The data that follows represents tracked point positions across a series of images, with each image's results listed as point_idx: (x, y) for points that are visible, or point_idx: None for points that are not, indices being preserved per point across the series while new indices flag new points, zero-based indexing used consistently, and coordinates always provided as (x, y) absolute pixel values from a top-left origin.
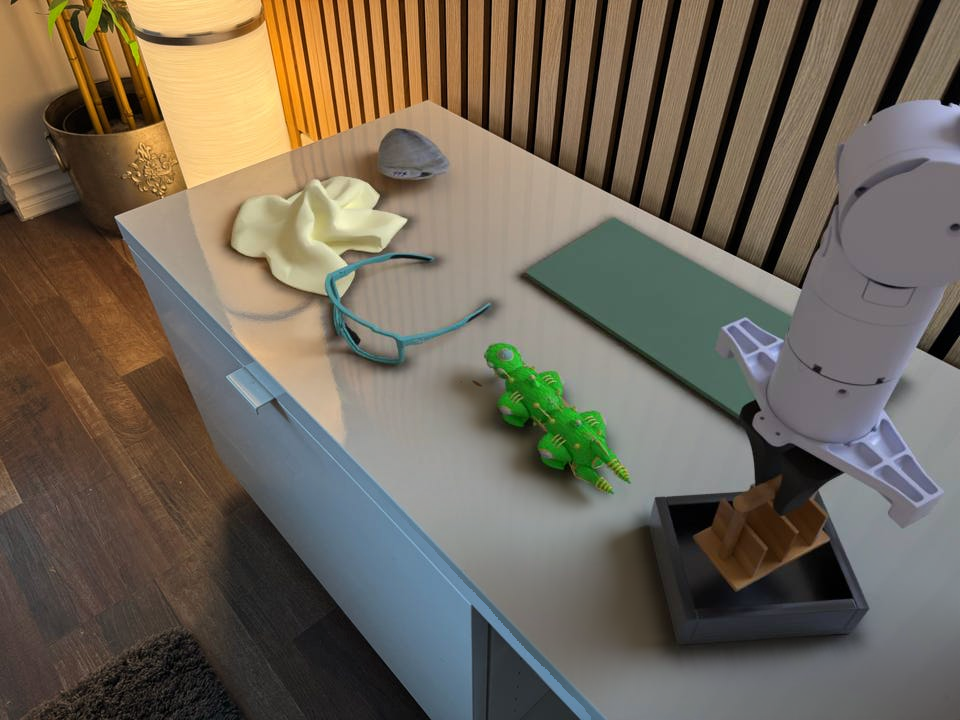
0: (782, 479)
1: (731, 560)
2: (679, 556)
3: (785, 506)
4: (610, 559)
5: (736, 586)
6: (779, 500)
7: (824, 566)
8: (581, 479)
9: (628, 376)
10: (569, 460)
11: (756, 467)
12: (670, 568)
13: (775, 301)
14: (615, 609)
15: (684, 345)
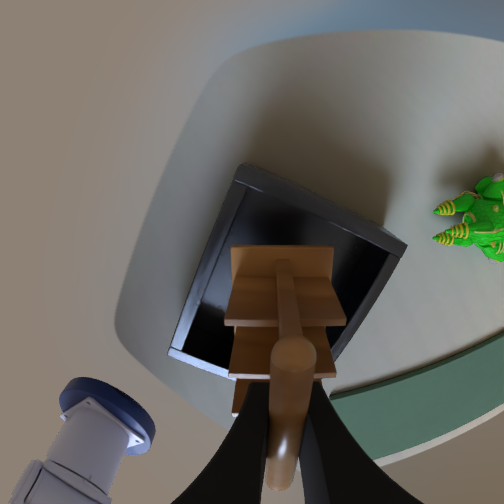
0: (257, 475)
1: (271, 270)
2: (323, 216)
3: (239, 411)
4: (371, 159)
5: (234, 249)
6: (255, 412)
7: None
8: (461, 193)
9: (494, 313)
10: (484, 194)
11: (337, 430)
12: (317, 197)
13: (441, 436)
14: (315, 125)
15: (477, 371)
